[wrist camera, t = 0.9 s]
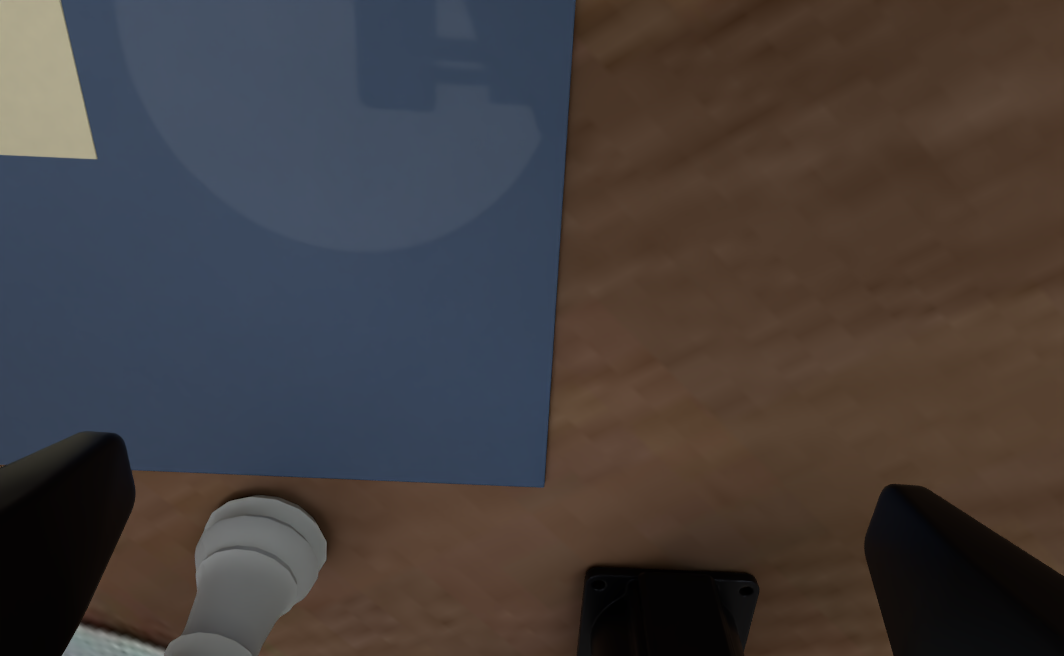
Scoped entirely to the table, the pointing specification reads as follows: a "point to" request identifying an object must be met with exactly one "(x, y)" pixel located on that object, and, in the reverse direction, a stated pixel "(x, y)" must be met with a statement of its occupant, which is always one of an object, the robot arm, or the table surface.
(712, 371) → the table surface
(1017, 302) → the table surface
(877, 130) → the table surface
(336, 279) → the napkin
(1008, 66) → the table surface
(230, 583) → the rook chess piece
